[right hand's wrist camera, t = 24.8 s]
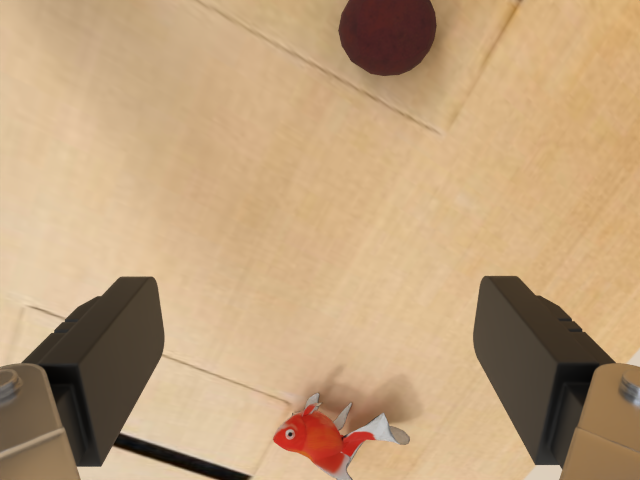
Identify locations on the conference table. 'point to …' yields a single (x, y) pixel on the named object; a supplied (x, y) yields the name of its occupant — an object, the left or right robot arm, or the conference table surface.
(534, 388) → the right robot arm
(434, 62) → the conference table surface
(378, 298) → the conference table surface
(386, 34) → the dark red ball
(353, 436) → the fish
